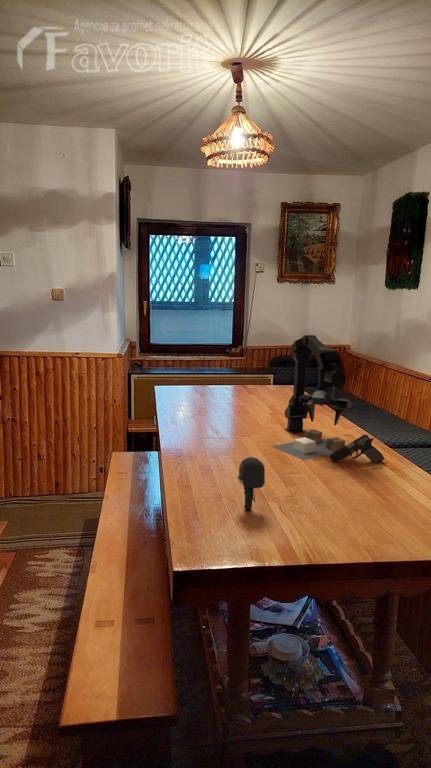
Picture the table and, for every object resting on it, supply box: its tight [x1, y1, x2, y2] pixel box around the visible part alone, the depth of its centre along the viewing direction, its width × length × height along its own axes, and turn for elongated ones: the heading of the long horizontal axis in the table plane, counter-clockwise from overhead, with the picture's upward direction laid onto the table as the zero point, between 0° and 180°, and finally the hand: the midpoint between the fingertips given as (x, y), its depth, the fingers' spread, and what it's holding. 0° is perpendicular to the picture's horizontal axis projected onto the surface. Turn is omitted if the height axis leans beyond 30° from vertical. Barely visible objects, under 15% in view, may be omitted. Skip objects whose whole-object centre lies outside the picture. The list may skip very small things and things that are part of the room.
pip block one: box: [304, 428, 323, 443], centre depth 204 cm, size 5×5×4 cm
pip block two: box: [326, 436, 346, 452], centre depth 195 cm, size 5×5×4 cm
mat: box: [271, 438, 334, 461], centre depth 196 cm, size 18×26×1 cm
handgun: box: [328, 434, 385, 464], centre depth 181 cm, size 17×2×12 cm
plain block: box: [292, 436, 316, 454], centre depth 192 cm, size 6×6×4 cm
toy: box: [237, 456, 266, 512], centre depth 139 cm, size 9×8×15 cm
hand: (323, 423), depth 189 cm, fingers open, 9 cm apart
